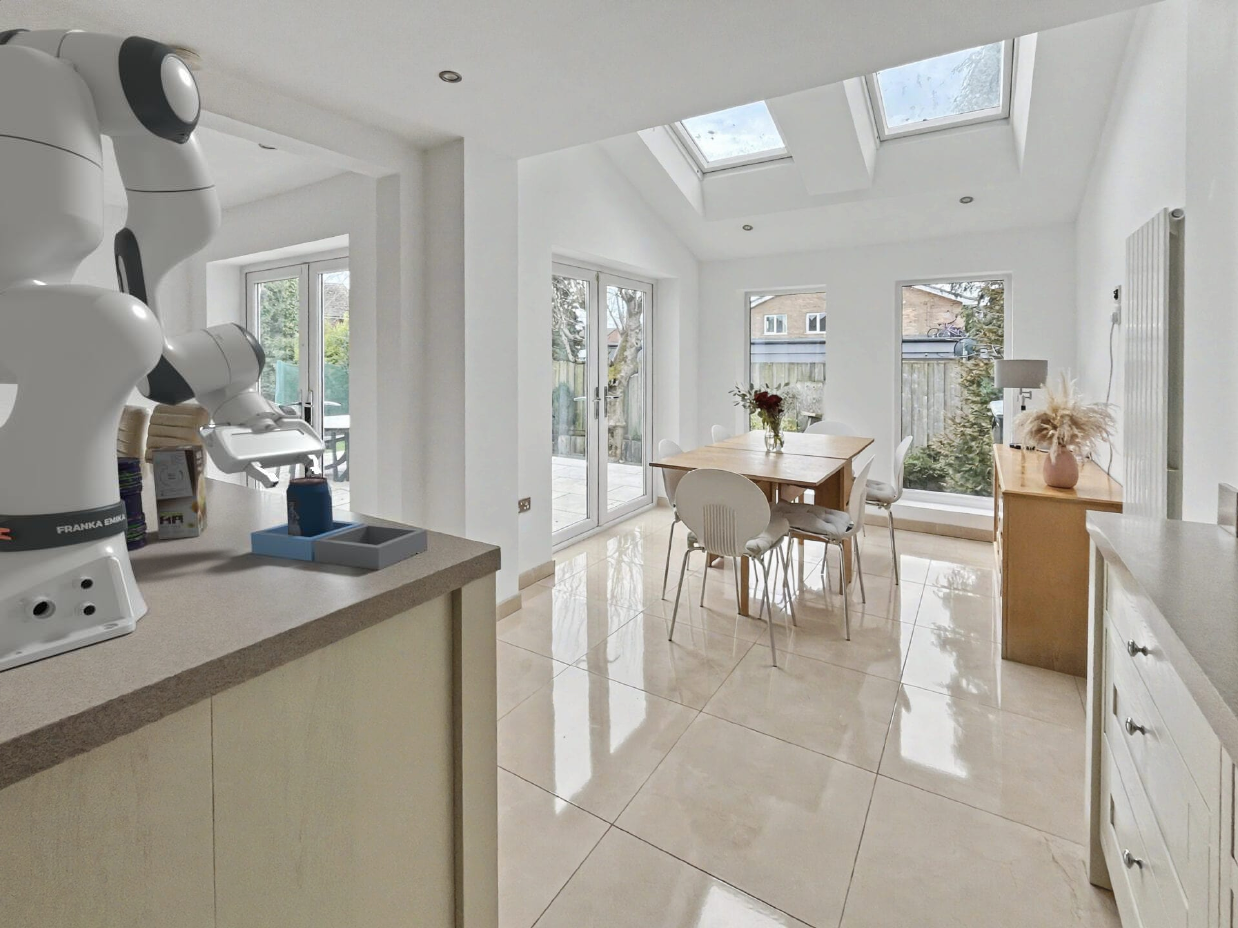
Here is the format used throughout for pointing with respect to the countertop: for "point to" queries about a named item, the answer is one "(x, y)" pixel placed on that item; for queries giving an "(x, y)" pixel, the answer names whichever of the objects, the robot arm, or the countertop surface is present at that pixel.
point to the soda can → (309, 506)
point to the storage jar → (132, 501)
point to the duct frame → (343, 544)
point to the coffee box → (180, 491)
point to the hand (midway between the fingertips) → (296, 481)
